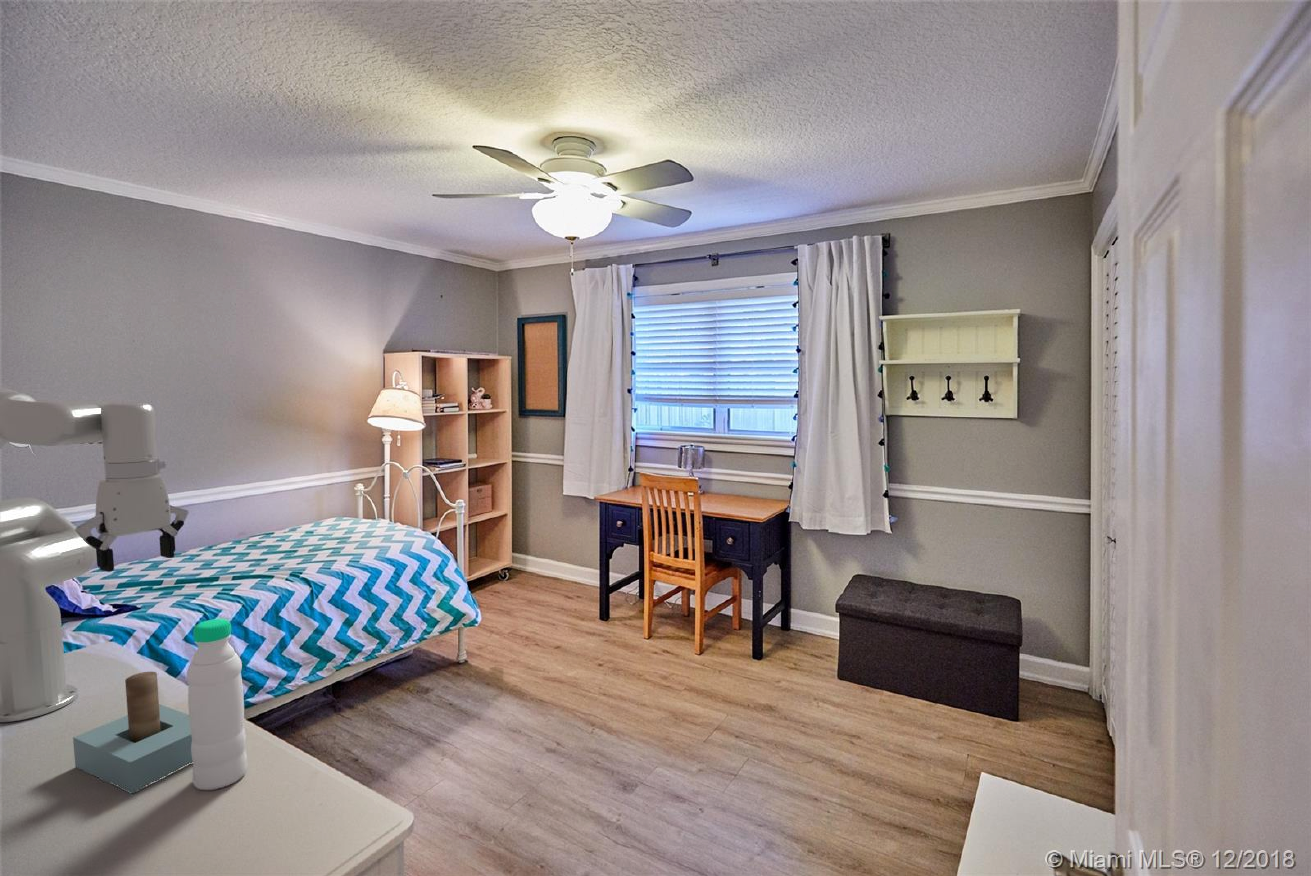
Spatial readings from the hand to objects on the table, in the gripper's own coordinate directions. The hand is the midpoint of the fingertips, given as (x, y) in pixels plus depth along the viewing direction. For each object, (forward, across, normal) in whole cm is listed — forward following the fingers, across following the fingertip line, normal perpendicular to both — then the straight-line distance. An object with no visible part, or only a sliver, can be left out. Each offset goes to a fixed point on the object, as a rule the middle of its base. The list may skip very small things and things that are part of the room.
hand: (138, 563), depth 118 cm
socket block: (+28, +9, +17) cm, 34 cm away
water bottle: (+28, +7, +33) cm, 44 cm away
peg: (+28, +9, +17) cm, 34 cm away
